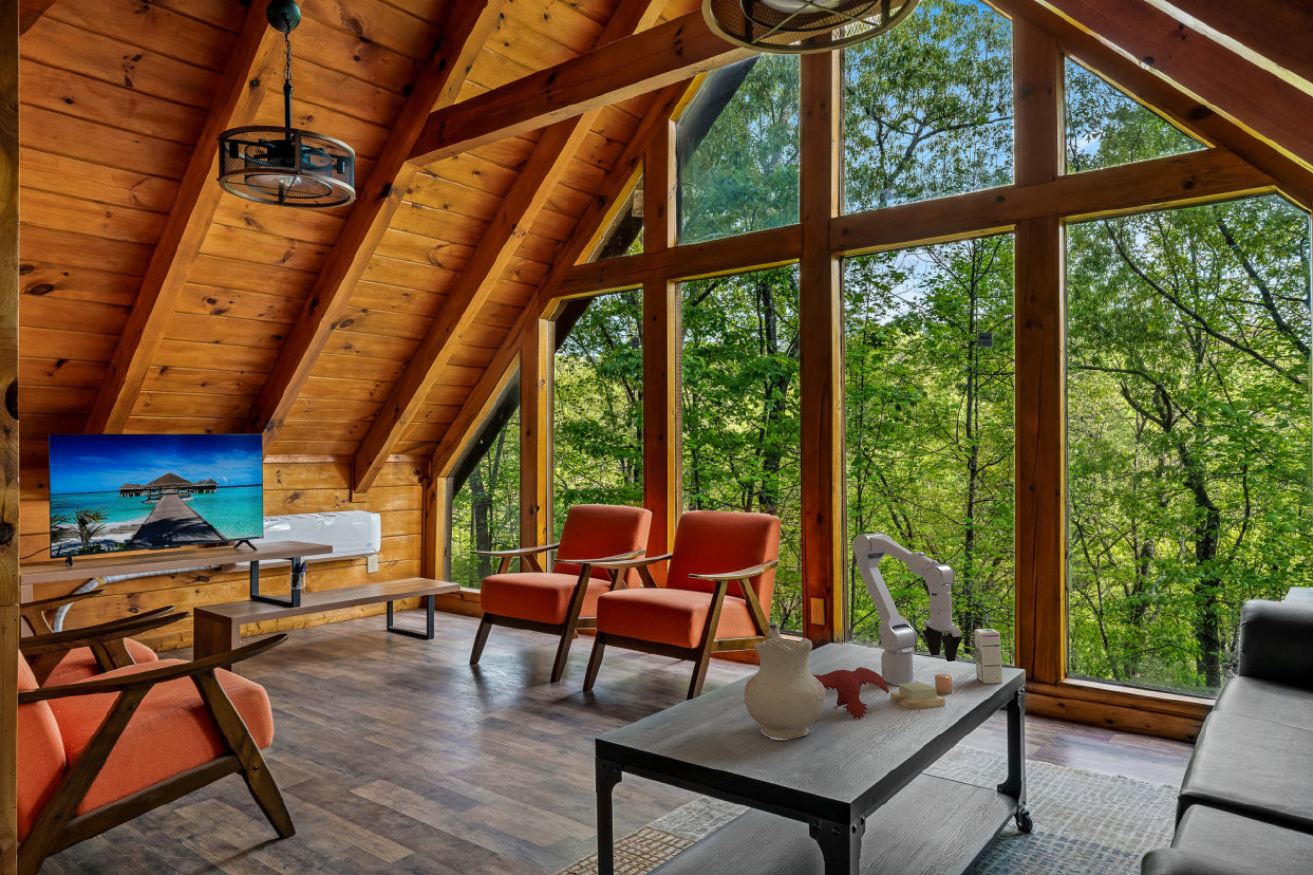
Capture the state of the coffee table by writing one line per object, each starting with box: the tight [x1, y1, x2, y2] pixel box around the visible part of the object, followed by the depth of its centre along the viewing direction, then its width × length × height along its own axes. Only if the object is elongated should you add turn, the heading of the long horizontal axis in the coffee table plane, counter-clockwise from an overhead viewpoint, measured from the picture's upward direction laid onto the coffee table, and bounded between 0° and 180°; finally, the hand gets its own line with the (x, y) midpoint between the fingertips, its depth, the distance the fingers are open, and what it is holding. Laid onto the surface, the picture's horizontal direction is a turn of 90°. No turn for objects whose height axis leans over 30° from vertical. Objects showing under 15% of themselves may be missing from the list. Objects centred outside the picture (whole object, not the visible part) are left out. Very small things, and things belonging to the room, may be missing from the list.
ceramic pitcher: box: [743, 622, 826, 740], centre depth 209 cm, size 22×20×25 cm
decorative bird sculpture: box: [811, 666, 890, 720], centre depth 222 cm, size 28×9×15 cm
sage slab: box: [898, 681, 938, 701], centre depth 229 cm, size 7×7×2 cm
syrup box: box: [974, 628, 1003, 684], centre depth 249 cm, size 6×6×14 cm
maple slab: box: [890, 691, 946, 710], centre depth 229 cm, size 10×10×2 cm
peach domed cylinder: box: [934, 673, 953, 696], centre depth 238 cm, size 4×4×4 cm
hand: (942, 658), depth 239 cm, fingers open, 7 cm apart
